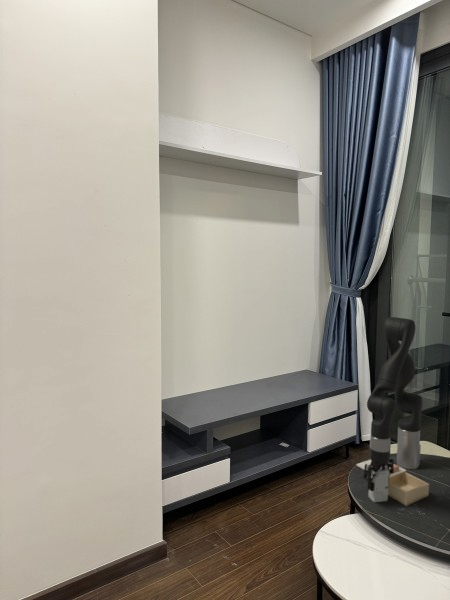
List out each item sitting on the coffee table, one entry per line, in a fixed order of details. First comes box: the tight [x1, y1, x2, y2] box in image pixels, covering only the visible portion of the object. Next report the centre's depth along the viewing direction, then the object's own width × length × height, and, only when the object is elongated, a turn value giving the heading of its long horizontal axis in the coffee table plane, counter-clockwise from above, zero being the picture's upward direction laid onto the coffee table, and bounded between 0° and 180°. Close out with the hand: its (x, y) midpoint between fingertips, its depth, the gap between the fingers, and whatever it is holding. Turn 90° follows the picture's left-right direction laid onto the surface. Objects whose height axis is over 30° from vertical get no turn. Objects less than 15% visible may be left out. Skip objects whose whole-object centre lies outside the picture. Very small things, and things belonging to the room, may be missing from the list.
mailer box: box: [388, 471, 430, 507], centre depth 170 cm, size 14×14×5 cm
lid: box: [356, 458, 407, 478], centre depth 178 cm, size 14×14×3 cm
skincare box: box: [368, 470, 389, 503], centre depth 165 cm, size 6×4×12 cm
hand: (378, 487), depth 165 cm, fingers open, 8 cm apart
